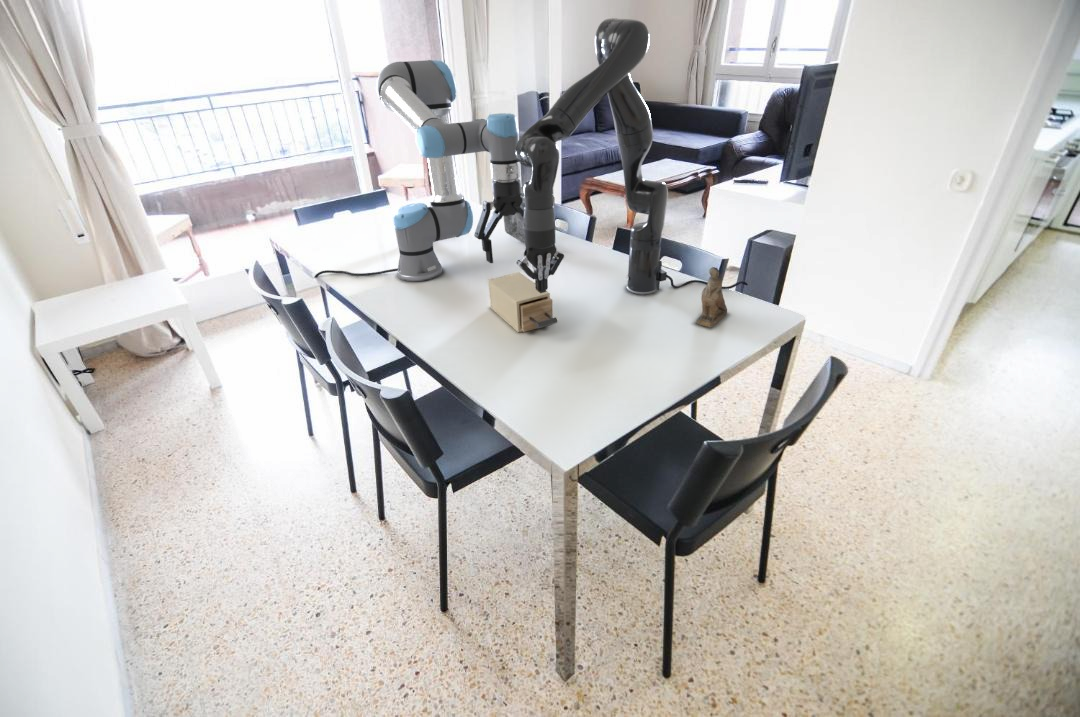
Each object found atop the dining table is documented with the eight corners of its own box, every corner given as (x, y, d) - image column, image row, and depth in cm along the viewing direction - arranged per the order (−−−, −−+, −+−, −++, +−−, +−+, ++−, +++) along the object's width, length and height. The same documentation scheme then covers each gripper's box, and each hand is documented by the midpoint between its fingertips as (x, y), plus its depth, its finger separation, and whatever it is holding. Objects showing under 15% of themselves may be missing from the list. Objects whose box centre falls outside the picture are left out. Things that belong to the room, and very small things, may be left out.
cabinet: (550, 323, 141) (549, 293, 136) (518, 332, 137) (516, 301, 132) (521, 300, 154) (519, 272, 150) (490, 308, 150) (488, 279, 145)
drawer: (563, 331, 134) (562, 307, 130) (533, 340, 130) (532, 315, 127) (524, 301, 151) (522, 278, 147) (497, 308, 148) (494, 285, 144)
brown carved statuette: (709, 335, 136) (713, 280, 124) (691, 329, 139) (693, 274, 128) (730, 313, 142) (736, 258, 130) (712, 307, 145) (716, 253, 133)
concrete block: (560, 248, 193) (559, 196, 183) (541, 254, 189) (540, 200, 178) (521, 233, 212) (519, 184, 201) (504, 237, 207) (500, 188, 197)
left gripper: (468, 188, 122) (476, 270, 133) (553, 175, 133) (555, 251, 144) (456, 183, 128) (465, 262, 139) (539, 170, 138) (542, 244, 149)
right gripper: (522, 234, 114) (526, 302, 123) (571, 224, 119) (571, 290, 128) (507, 226, 119) (512, 292, 128) (555, 217, 125) (556, 281, 134)
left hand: (511, 257), depth 141 cm, fingers open, 13 cm apart
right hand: (541, 291), depth 128 cm, fingers closed
